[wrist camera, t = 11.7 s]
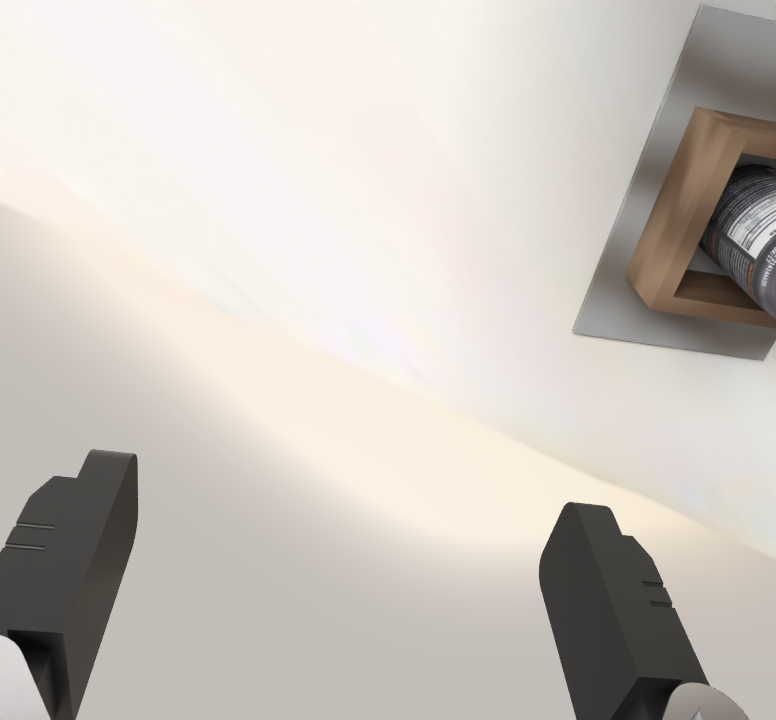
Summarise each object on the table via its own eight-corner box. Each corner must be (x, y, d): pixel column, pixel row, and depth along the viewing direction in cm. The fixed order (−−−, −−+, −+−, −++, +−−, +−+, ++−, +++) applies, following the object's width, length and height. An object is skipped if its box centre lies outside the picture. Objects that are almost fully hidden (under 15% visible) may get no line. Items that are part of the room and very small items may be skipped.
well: (700, 4, 36) (744, 19, 32) (935, 56, 38) (1005, 76, 34) (572, 330, 47) (593, 371, 43) (760, 357, 49) (797, 399, 45)
